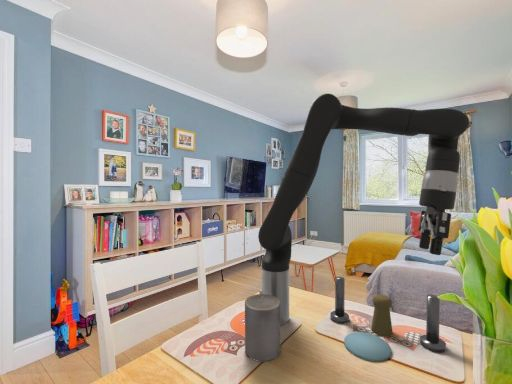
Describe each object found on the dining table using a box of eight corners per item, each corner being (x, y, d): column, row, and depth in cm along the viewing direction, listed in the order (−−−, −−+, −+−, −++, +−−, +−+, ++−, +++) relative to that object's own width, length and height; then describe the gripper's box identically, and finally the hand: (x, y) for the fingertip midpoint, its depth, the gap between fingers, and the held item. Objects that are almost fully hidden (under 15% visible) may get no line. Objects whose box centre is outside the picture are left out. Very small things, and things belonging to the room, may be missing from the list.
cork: (395, 338, 77) (395, 301, 77) (373, 335, 79) (373, 299, 78) (389, 327, 83) (389, 293, 83) (369, 325, 85) (369, 291, 84)
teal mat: (338, 350, 72) (338, 347, 72) (350, 330, 81) (350, 328, 81) (387, 367, 65) (387, 364, 65) (394, 343, 75) (394, 340, 75)
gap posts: (327, 320, 88) (328, 278, 87) (333, 313, 93) (333, 273, 92) (445, 355, 69) (446, 303, 69) (445, 344, 74) (446, 295, 74)
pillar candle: (254, 336, 78) (254, 287, 78) (285, 345, 74) (285, 292, 73) (238, 356, 69) (237, 300, 69) (272, 367, 65) (271, 307, 65)
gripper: (414, 189, 76) (405, 244, 76) (431, 185, 62) (421, 253, 62) (444, 193, 74) (435, 250, 74) (468, 190, 60) (458, 260, 60)
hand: (428, 251), depth 68 cm, fingers open, 8 cm apart
